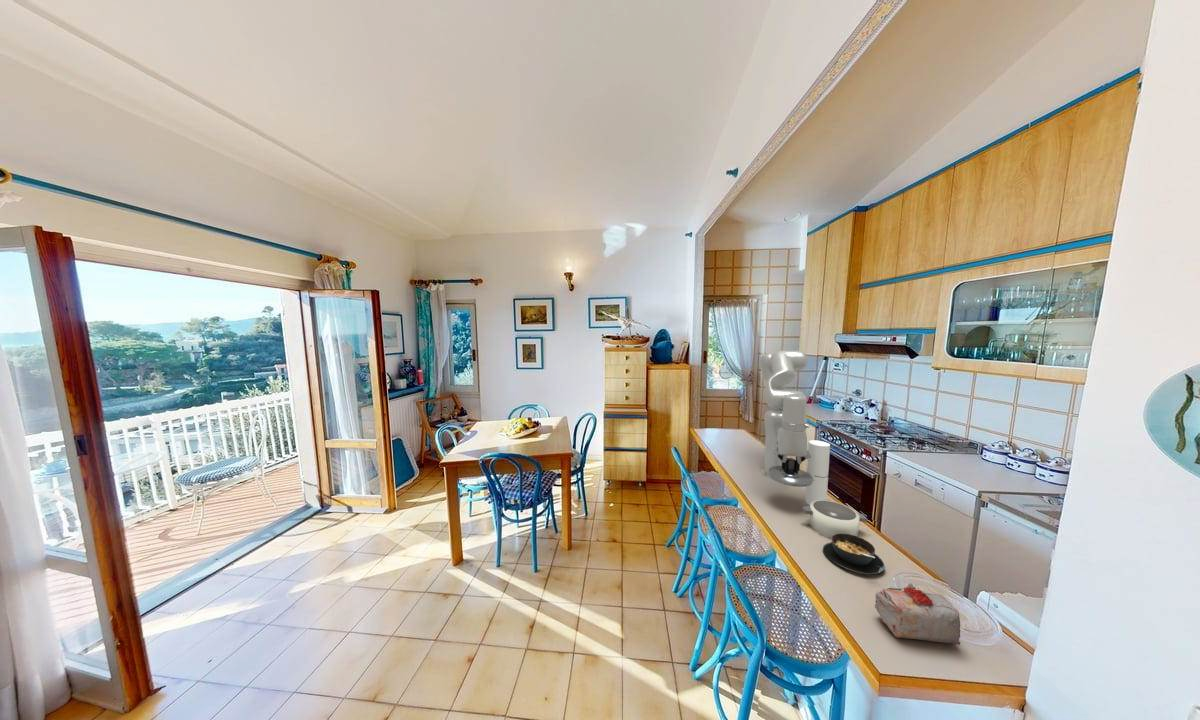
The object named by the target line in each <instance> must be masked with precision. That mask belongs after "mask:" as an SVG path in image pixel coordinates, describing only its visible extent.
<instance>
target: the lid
mask: <svg viewBox="0 0 1200 720" xmlns="http://www.w3.org/2000/svg"><path fill="white" fill-rule="evenodd" d="M786 462H787V472H786V473H785V472H784V470H783V469H782V466H773V467H771V468H769V470H768V474H769V476H770V477H771V478H770V479H772V480H774V481H776V482H777V483H780V484H783V485H786V486H790V487H791V486H792V487H800V488H802V487H805V488H806V486H810V485H811V484H812V483H813V477H812V476H811V475H810V474H809V473H807V471H805V470H803V469H800V470H799V471H798V474H796V473H795V464H796V458H791V457H787V458H786Z"/></svg>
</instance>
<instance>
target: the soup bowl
mask: <svg viewBox="0 0 1200 720" xmlns="http://www.w3.org/2000/svg"><path fill="white" fill-rule="evenodd" d="M830 540H831V542H827V543H825V544H824V545H823V547H822V552H823V553H824V555H825V556H826V557H827V558H828V559H829V560H830V561H831V562H833V563H834V564H836V565H837V566H839V567H840V568H844V569H846V570H848V571H851V572H855V573H859V574H861V575H862V574H863V575H873V574H874V575H875V574H879V573H881V574H882V573H883V572H884V571H885V570H886V566H885V562H884V561H883V559H881V558H880V556H879V555H877V554H876V548H875V546H874V545H873V544H872V543H871V542H869V541H868V540H866V539H864V538H862V537H859V536H858V537H857V536H853V535H850V534H835V535H833V536H832V538H831V539H830Z"/></svg>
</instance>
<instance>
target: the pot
mask: <svg viewBox="0 0 1200 720" xmlns="http://www.w3.org/2000/svg"><path fill="white" fill-rule="evenodd" d="M802 510H803V511H802V512H804V514H806V515H809V520H808V521H809V525H810V528H811V529H812V530H814V531H815V532H816V533H818V535H819V534H820V535H821V536H824V537H826V538H828V539H830V540H832V539H831V538H832V536H833V535H835V534H850V535H853V536H857V537H859V527H860V522H863V523H867V522H868V518H867V516H866V515H865V514H863V513H858V512H857V511H856V510H854V509H853V508H851V507H850V506H848V505H845V504H843V503H840V502H836V501H833V500H815V501H812V502H811V504H809V506H804V505H803V506H802Z"/></svg>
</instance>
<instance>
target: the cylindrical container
mask: <svg viewBox="0 0 1200 720" xmlns="http://www.w3.org/2000/svg"><path fill="white" fill-rule="evenodd" d="M807 450H808V452H809V454H810V455H811V458H808V459H806V460H807V462H806V463H807V465H806V472H807V473H809V474H810V475H811V476H812V477H813V483H812V484H811V485H810V486H805V496H804V497H805V499H804V500H805V503H806V504H808V505H810V504H811V502H812V501H815V500H827V499H828V485H829V484H828V483H829V469H830V467H829V466H830V451H831V444H830V443H828V442H826V441H822V440H817V439H816V440H815V439H813V440H812V439H811V440H808V441H807Z"/></svg>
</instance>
